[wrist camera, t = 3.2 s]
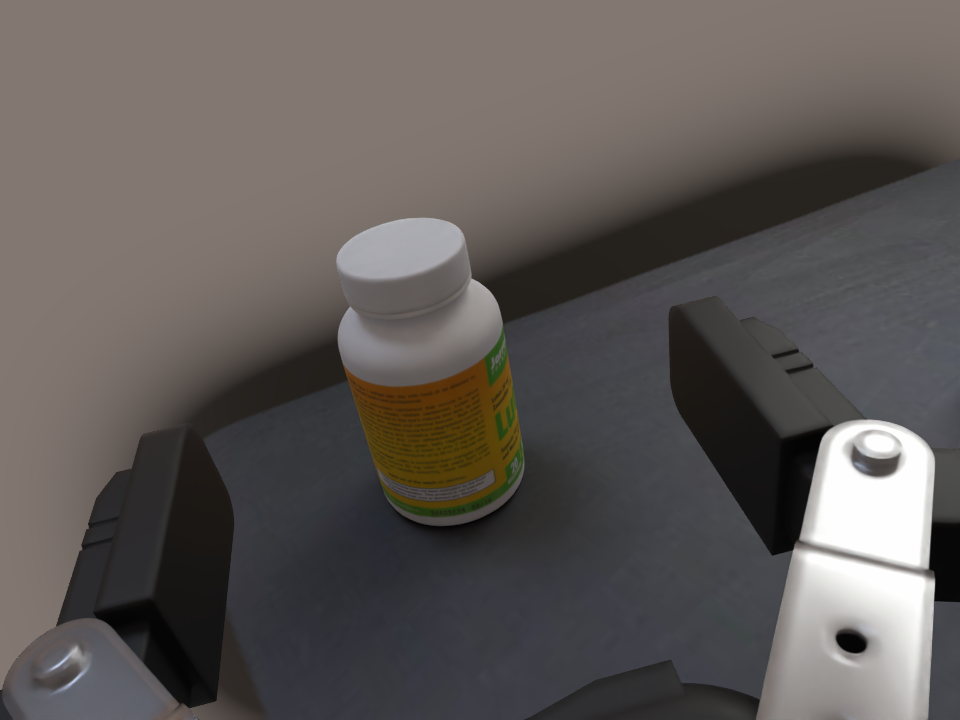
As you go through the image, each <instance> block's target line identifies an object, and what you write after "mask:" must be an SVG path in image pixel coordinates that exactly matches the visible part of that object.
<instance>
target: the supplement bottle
mask: <svg viewBox="0 0 960 720" xmlns="http://www.w3.org/2000/svg"><path fill="white" fill-rule="evenodd" d="M336 265H337V270H338V273H339V277H340V281H341V285H342V290H343V294H344V296H345V298H346V299H347V301H348V304H349V305H350V308H349V309H348V310H347V312H346V313H345V315H344V316H343V319H342V321H341V323H340V326H339V331H338V346H339V351H340V355H341V358H342V362H343V365H344V368H345V372H346V375H347V378H348V381H349V384H350V387H351V390H352V394H353V397H354V400H355V403H356V406H357V409H358V413H359V416H360V419H361V422H362V425H363V429H364V432H365V435H366V438H367V441H368V445H369V448H370V451H371V454H372V458H373V461H374V464H375V467H376V470H377V474H378V477H379V480H380V483H381V486H382V488H383V491H384V494H385V496H386V498H387V500H388V501H389V503H390V504H391V505H392V506H393V507H394V508H395V510H397V511H398V512H399V513H400V514H402V515H403V516H405V517H407V518H408V519H410V520H413V521H415V522H418V523H421V524H426V525H432V526H451V525H459V524H463V523H467V522H471V521H474V520H477V519H479V518H481V517H484V516H486V515H488V514H490V513H491V512H493V511H495V510H496V509H498V508H499V507H500V506H502V505H503V504H504V503H505V502H506V501H507V500H508V499H510V497H511V496H512V495H513V494H514V493H515V491H516V490H517V488H518V486H519V484H520V482H521V480H522V477H523V473H524V465H525V464H524V452H523V445H522V438H521V433H520V427H519V421H518V415H517V409H516V403H515V397H514V391H513V383H512V379H511V372H510V366H509V360H508V354H507V348H506V342H505V336H504V329H503V323H502V318H501V314H500V310H499V306H498V304H497V301H496V300H495V298H494V296H493V295H492V294H491V292H490V291H489V290H488V289H487V288H486V287H484V286H483V285H482V284H480V283H479V282H477V281H475V280H473V279H471V269H470V263H469V257H468V252H467V247H466V242H465V238H464V235H463V233H462V232H461V230H460V229H459V228H458V227H457V226H455V225H454V224H452V223H449V222H447V221H443V220H439V219H433V218H411V219H403V220H396V221H392V222H388V223H384V224H381V225H379V226H376V227H373V228H370V229H368V230H366V231H364V232H362V233H360V234H358V235H356V236H355V237H353V238H352V239H351V240H349V241H348V242H347V243H346V244H345V245H344V246H343V247H342V248H341V250H340V251H339V253H338V255H337V259H336Z"/></svg>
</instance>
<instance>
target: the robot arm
mask: <svg viewBox="0 0 960 720" xmlns="http://www.w3.org/2000/svg"><path fill="white" fill-rule="evenodd" d="M669 355H670V383H671V389H672V394H673V397H674V401H675V404H676V406H677V409H678V411H679V413H680V415H681V416H682V418H683V419H684V421H685V423H686V424H687V426H688V427H689V429H690V430H691V432H692V433H693V435H694V436H695V438H696V439H697V441H698V443H699V444H700V446H701V447H702V449H703V450H704V452H705V453H706V455H707V456H708V458H709V459H710V461H711V462H712V464H713V466H714V467H715V469H716V470H717V472H718V473H719V475H720V476H721V478H722V479H723V481H724V482H725V484H726V485H727V487H728V489H729V490H730V492H731V493H732V495H733V496H734V498H735V499H736V501H737V502H738V504H739V505H740V507H741V508H742V510H743V512H744V513H745V515H746V516H747V518H748V519H749V521H750V522H751V524H752V525H753V527H754V528H755V530H756V531H757V533H758V535H759V536H760V538H761V539H762V541H763V542H764V544H765V545H766V547H767V548H768V550H769V551H770V553H771V555H772V556H773V555H776V554H780V553H784V552H788V551H791V550H793V554H792V559H791V563H790V568H789V572H788V577H787V582H786V586H785V591H784V595H783V600H782V604H781V609H780V613H779V618H778V622H777V627H776V631H775V636H774V640H773V645H772V649H771V654H770V658H769V663H768V667H767V672H766V676H765V681H764V685H763V690H762V694H761V699H760V700H759V699H757V698H755V697H753V696H750V695H747V694H744V693H741V692H738V691H735V690H732V689H727V688H723V687H718V686H714V685H705V684H695V683H681V681H680V679H679V677H678V675H677V672H676V670H675V668H674V666H673V663H672V661H671V660H668V661H664V662H661V663H657V664H653V665H650V666H646V667H642V668H639V669H635V670H631V671H627V672H624V673H620V674H616V675H613V676H609V677H605V678H602V679H598V680H595V681H593V682H592V683H590V684H588V685H586V686H585V687H583V688H581V689H579V690H577V691H576V692H574V693H572V694H570V695H569V696H567V697H565V698H563V699H562V700H560V701H558V702H556V703H554V704H553V705H551V706H549V707H547V708H546V709H544V710H542V711H540V712H539V713H537V714H535V715H533V716H532V717H530V718H528V719H525V720H928V705H929V686H930V667H931V648H932V629H933V610H934V601H945V602H960V449H935V448H930V447H929V446H928V444H927V443H926V442H925V441H924V440H923V439H922V438H920V437H919V436H918V435H917V434H915V433H913V432H912V431H910V430H908V429H906V428H904V427H901V426H899V425H896V424H893V423H889V422H884V421H879V420H867V419H866V418H865V417H864V416H863V415H862V414H861V413H860V412H859V411H858V410H857V409H856V408H855V407H854V406H853V405H852V403H851V402H850V401H849V400H848V399H847V398H846V397H845V396H844V395H843V394H842V393H841V392H840V391H839V390H838V389H837V388H836V387H835V386H834V385H833V384H832V383H831V382H830V381H829V380H828V379H827V378H826V377H825V376H824V375H823V373H822V372H821V371H820V370H819V369H818V368H817V367H816V368H814V367H813V363H812V362H811V361H810V360H809V359H808V358H807V357H806V356H805V355H804V354H803V353H802V352H801V353H799V350H798V348H797V347H796V346H795V345H794V343H793V342H792V341H791V340H790V339H789V338H788V337H787V336H786V335H785V334H784V333H783V332H782V331H781V330H779V329H777V328H775V327H773V326H771V325H769V324H767V323H765V322H763V321H760V320H758V319H756V318H754V317H751V318H747V319H743V320H739V319H738V318H737V317H736V316H735V315H734V314H733V313H732V312H731V310H730V309H729V308H728V307H727V306H726V305H725V304H724V303H723V302H722V300H721V299H720V298H718V297H717V296H713V297H709V298H704V299H700V300H696V301H692V302H688V303H684V304H680V305H676V306H672V307H671V308H670V311H669ZM88 525H89V529H87V530H86V532H85V536H84V539H83V542H82V551H80V552H79V555H78V558H77V561H76V565H75V567H74V571H73V574H72V577H71V580H70V583H69V587H68V590H67V593H66V596H65V599H64V603H63V606H62V609H61V613H60V615H59V619H58V622H57V625H56V627H55V628H53V629H51V630H49V631H47V632H46V633H44V634H43V635H41V636H40V637H38V638H37V639H36V640H35V641H33V642H32V643H31V644H30V645H29V646H28V647H27V648H26V649H25V650H24V651H23V652H22V653H21V654H20V655H19V656H18V658H17V659H16V660H15V662H14V663H13V665H12V666H11V668H10V669H9V671H8V674H7V675H6V678H5V681H4V684H3V689H2V690H0V720H199V719H198V718H197V717H196V716H195V715H194V714H193V713H192V712H191V710H190V709H189V708H192V707H196V706H200V705H203V704H207V703H211V702H215V701H216V700H217V690H218V680H219V670H220V660H221V650H222V640H223V630H224V621H225V611H226V601H227V591H228V581H229V571H230V561H231V551H232V541H233V532H234V515H233V508H232V504H231V500H230V496H229V493H228V491H227V489H226V486H225V484H224V482H223V480H222V478H221V476H220V474H219V472H218V470H217V468H216V466H215V464H214V462H213V460H212V458H211V456H210V454H209V452H208V450H207V447H206V445H205V443H204V441H203V439H202V437H201V435H200V433H199V431H198V430H197V428H196V427H195V426H194V425H193V424H192V423H186V424H182V425H178V426H174V427H170V428H166V429H161V430H157V431H153V432H149V433H145V434H143V435H142V436H141V438H140V441H139V444H138V448H137V452H136V455H135V459H134V463H133V467H132V469H129V470H124V471H120V472H116V474H115V475H114V476H113V478H112V479H111V480H110V481H109V483H108V484H107V485H106V486H105V488H104V489H103V490H102V492H101V493H100V494H99V495H98V497H97V498H96V501H95V504H94V507H93V510H92V513H91V516H90V520H89V523H88Z"/></svg>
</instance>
